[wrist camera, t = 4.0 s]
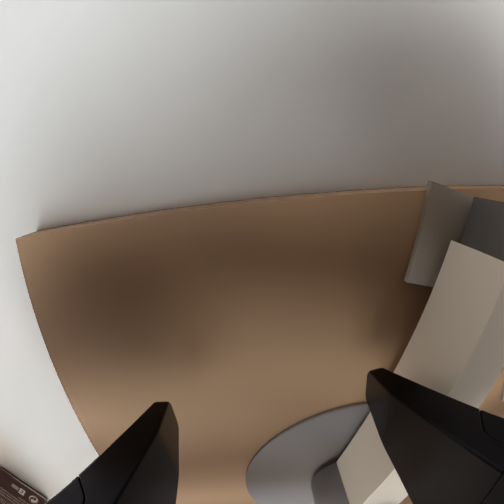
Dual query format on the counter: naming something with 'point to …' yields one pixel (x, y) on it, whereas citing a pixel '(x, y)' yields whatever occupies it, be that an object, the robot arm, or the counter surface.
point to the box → (17, 491)
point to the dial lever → (437, 355)
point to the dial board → (244, 324)
